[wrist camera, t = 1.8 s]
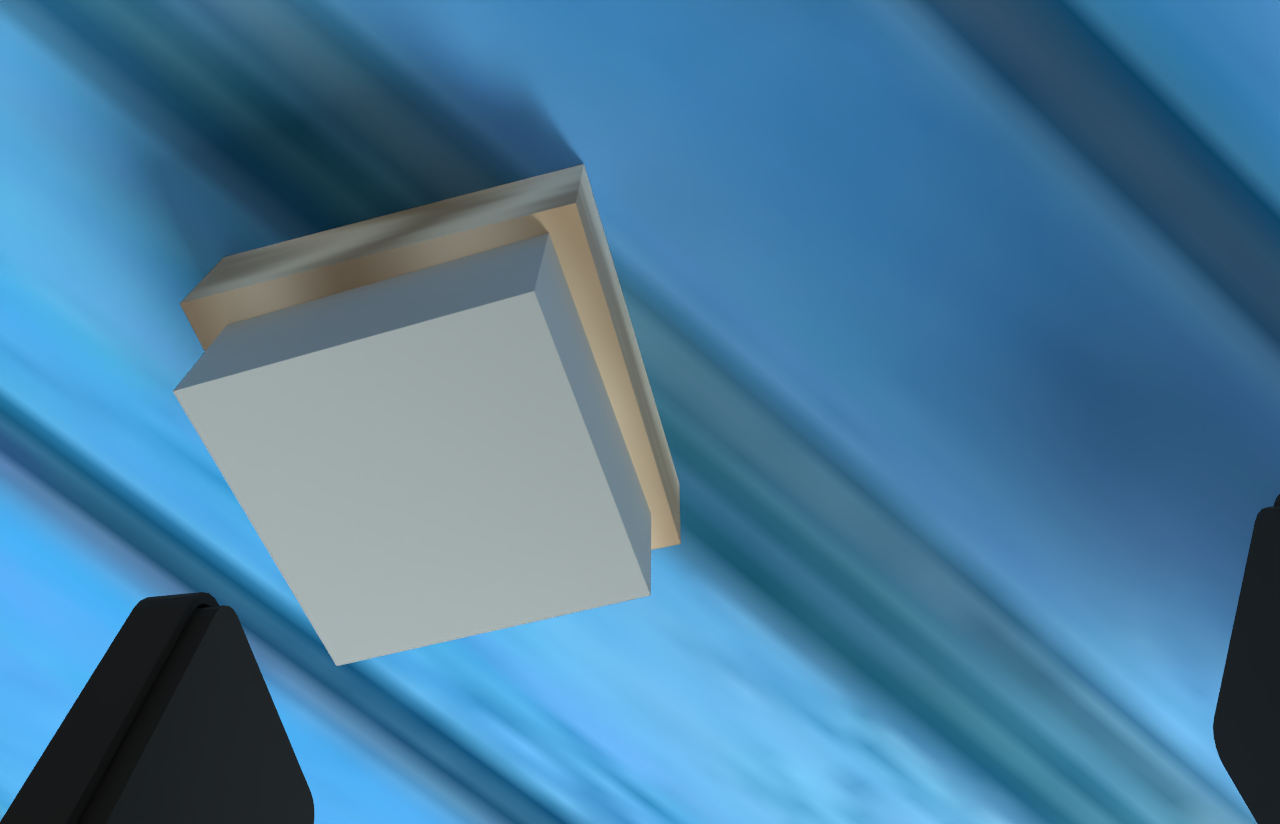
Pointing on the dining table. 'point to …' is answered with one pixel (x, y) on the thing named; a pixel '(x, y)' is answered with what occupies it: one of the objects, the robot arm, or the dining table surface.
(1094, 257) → the dining table surface
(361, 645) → the slate block
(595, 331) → the birch slab
